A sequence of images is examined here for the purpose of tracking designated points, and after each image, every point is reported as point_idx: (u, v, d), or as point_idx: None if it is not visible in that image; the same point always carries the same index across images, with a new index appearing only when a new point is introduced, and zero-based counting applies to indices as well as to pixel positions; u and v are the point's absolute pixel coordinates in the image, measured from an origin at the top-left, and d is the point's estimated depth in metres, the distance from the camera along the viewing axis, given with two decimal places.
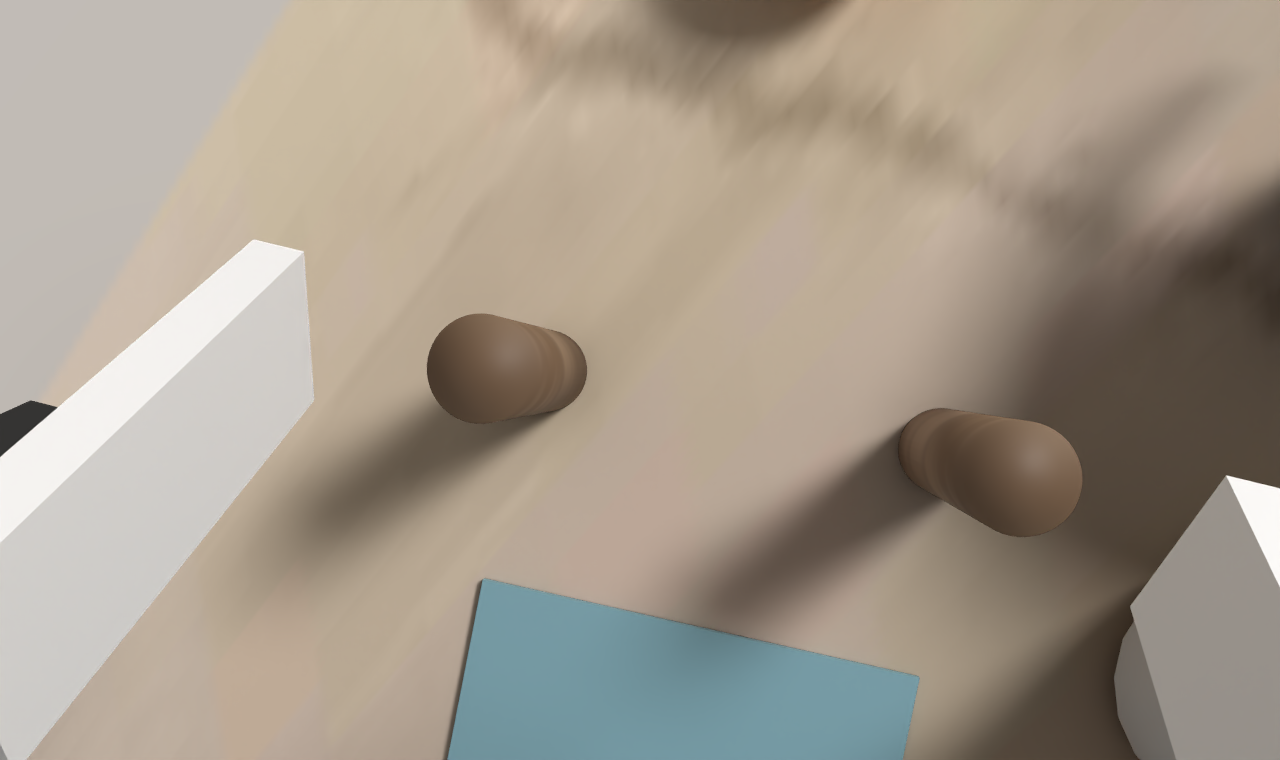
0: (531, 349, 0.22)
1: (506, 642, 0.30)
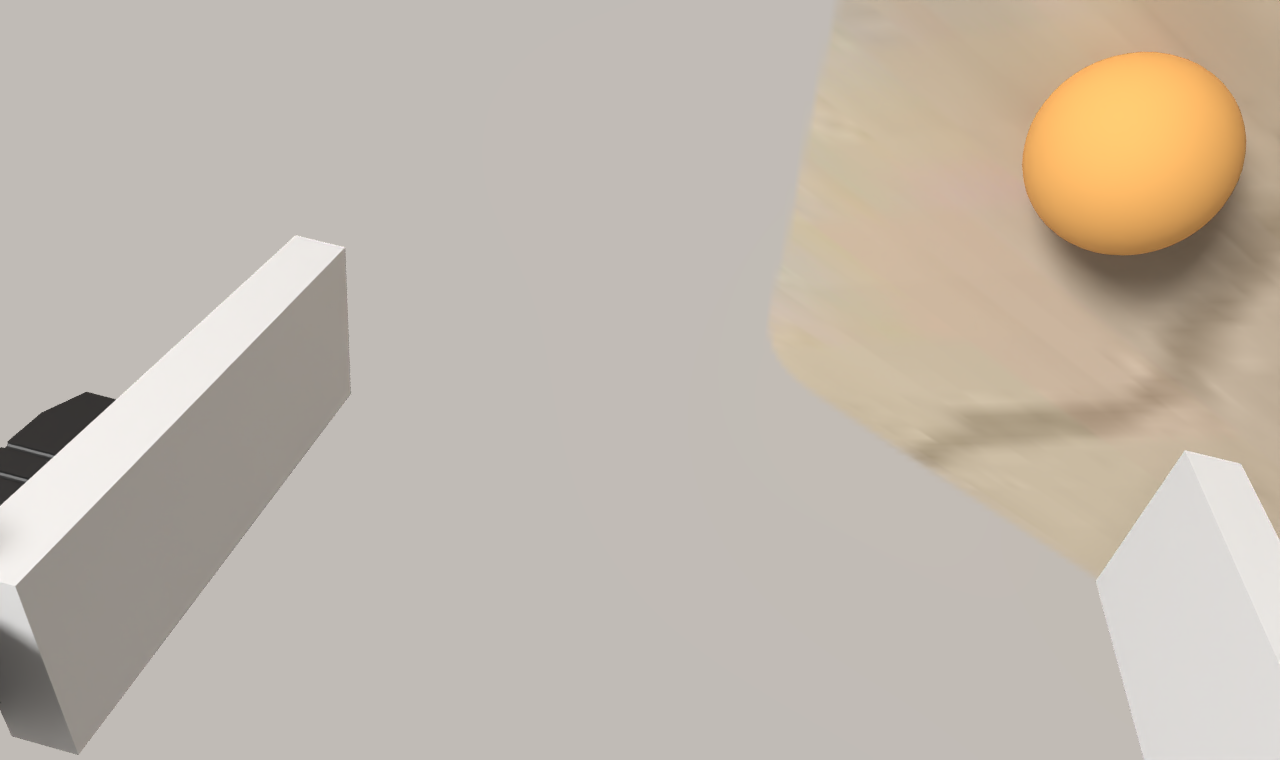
0: None
1: None
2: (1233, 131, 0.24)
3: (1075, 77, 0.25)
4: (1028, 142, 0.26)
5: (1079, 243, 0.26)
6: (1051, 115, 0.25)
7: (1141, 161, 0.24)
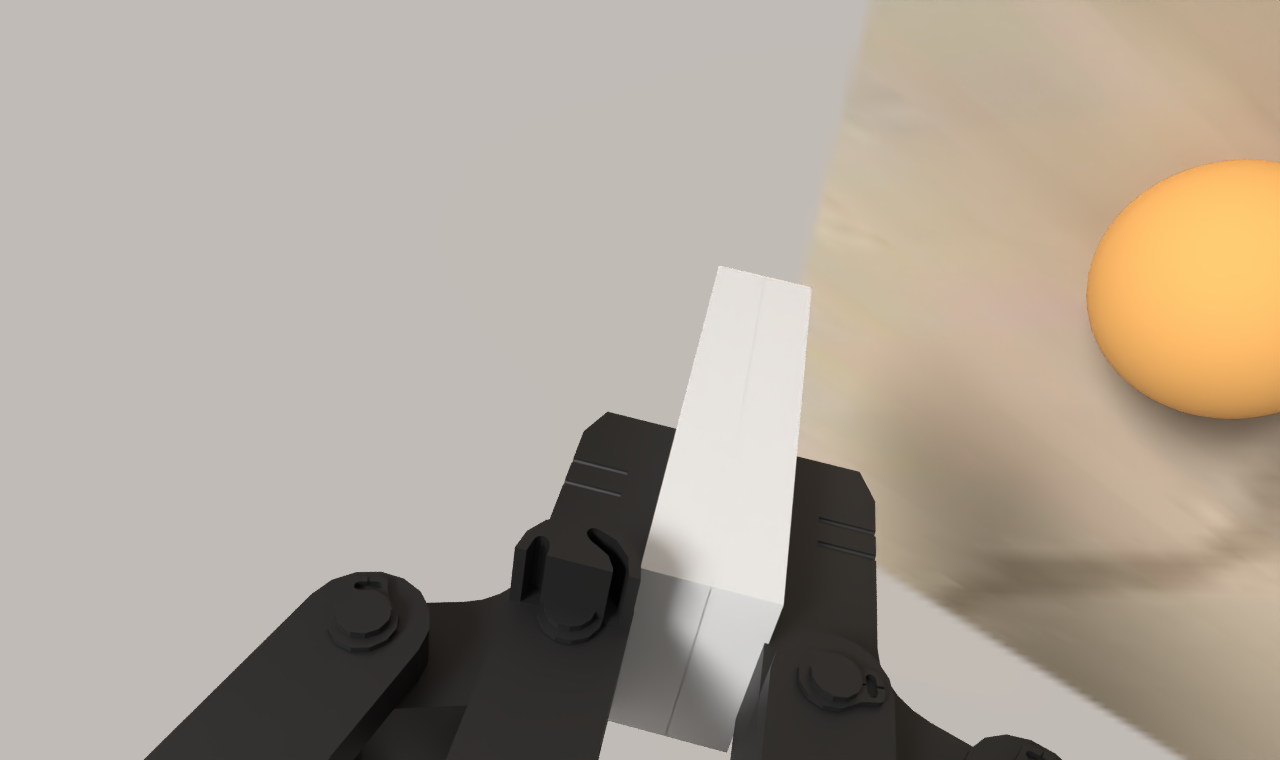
0: None
1: None
2: None
3: (1161, 192, 0.19)
4: (1096, 270, 0.20)
5: (1162, 402, 0.20)
6: (1130, 241, 0.19)
7: (1257, 316, 0.18)
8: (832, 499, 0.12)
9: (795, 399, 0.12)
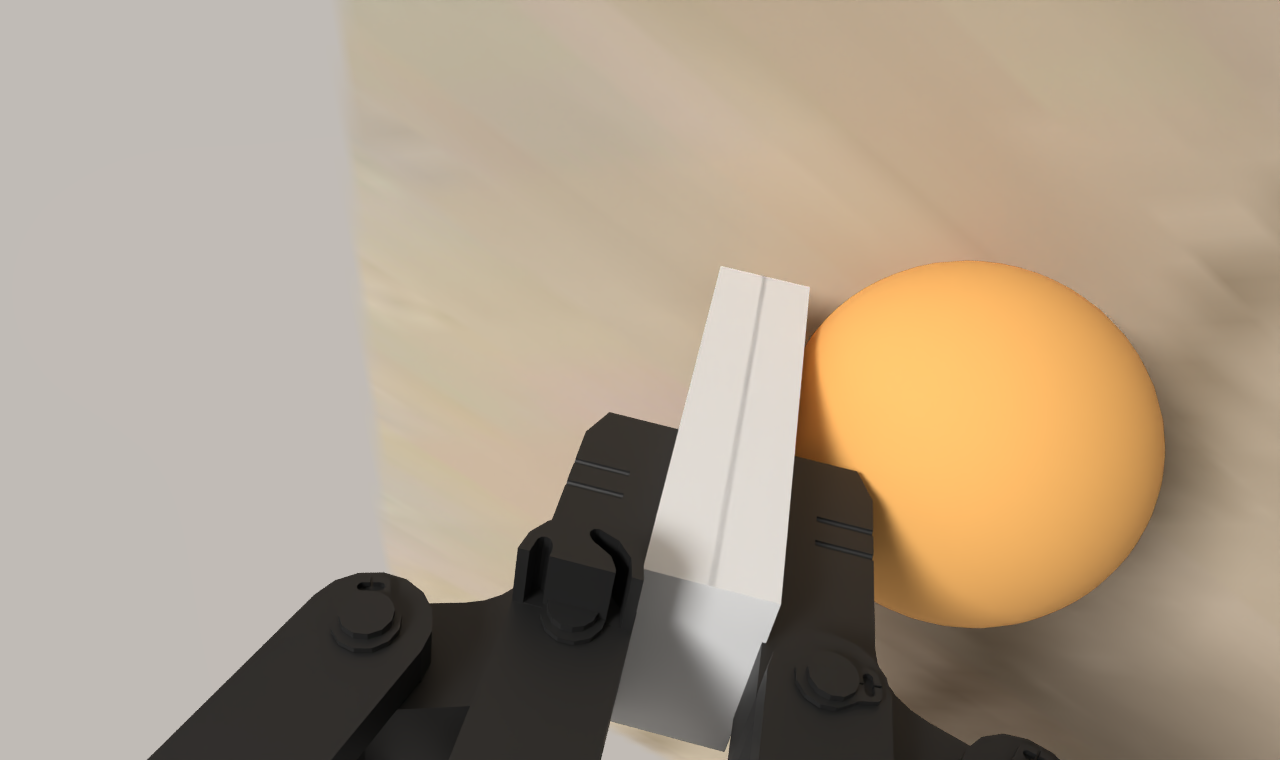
0: None
1: None
2: (1159, 417, 0.13)
3: (859, 348, 0.13)
4: None
5: None
6: (841, 437, 0.13)
7: (1048, 536, 0.12)
8: (830, 498, 0.12)
9: (793, 398, 0.12)
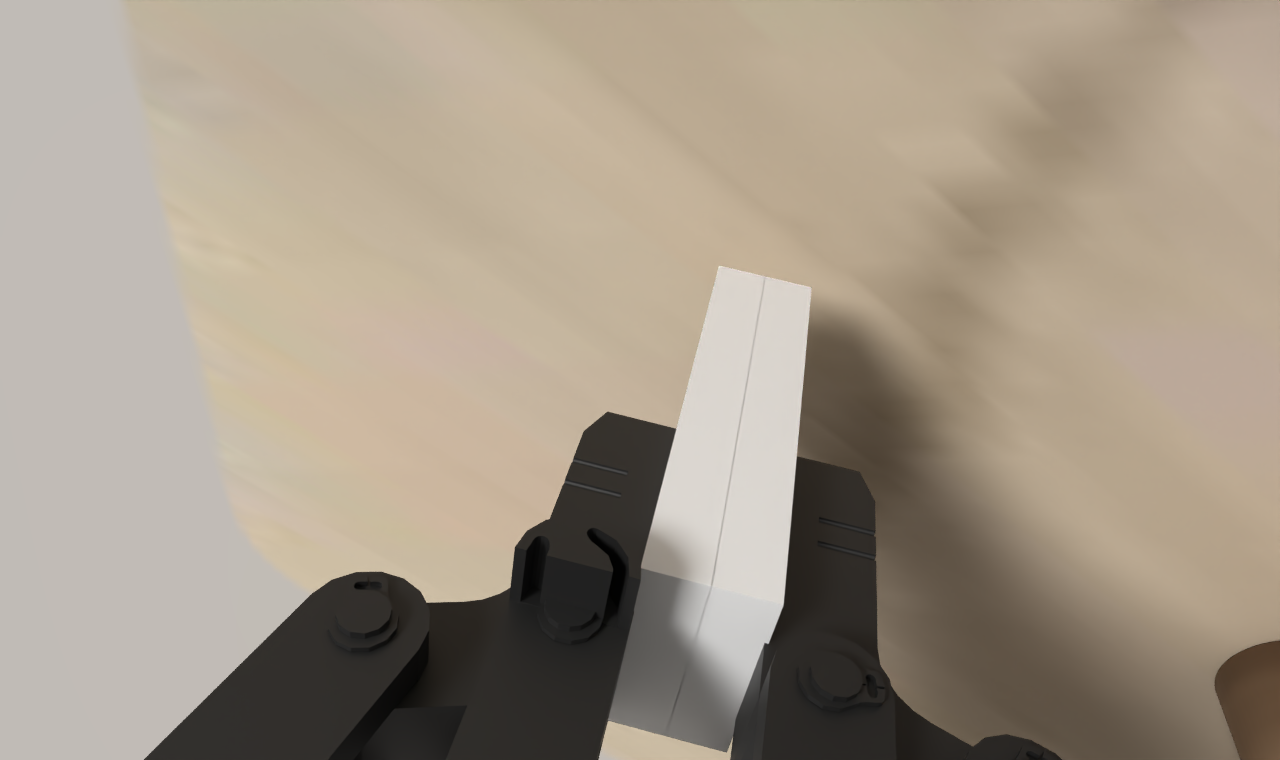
0: None
1: None
2: None
3: None
4: None
5: None
6: None
7: None
8: (832, 499, 0.12)
9: (795, 399, 0.12)
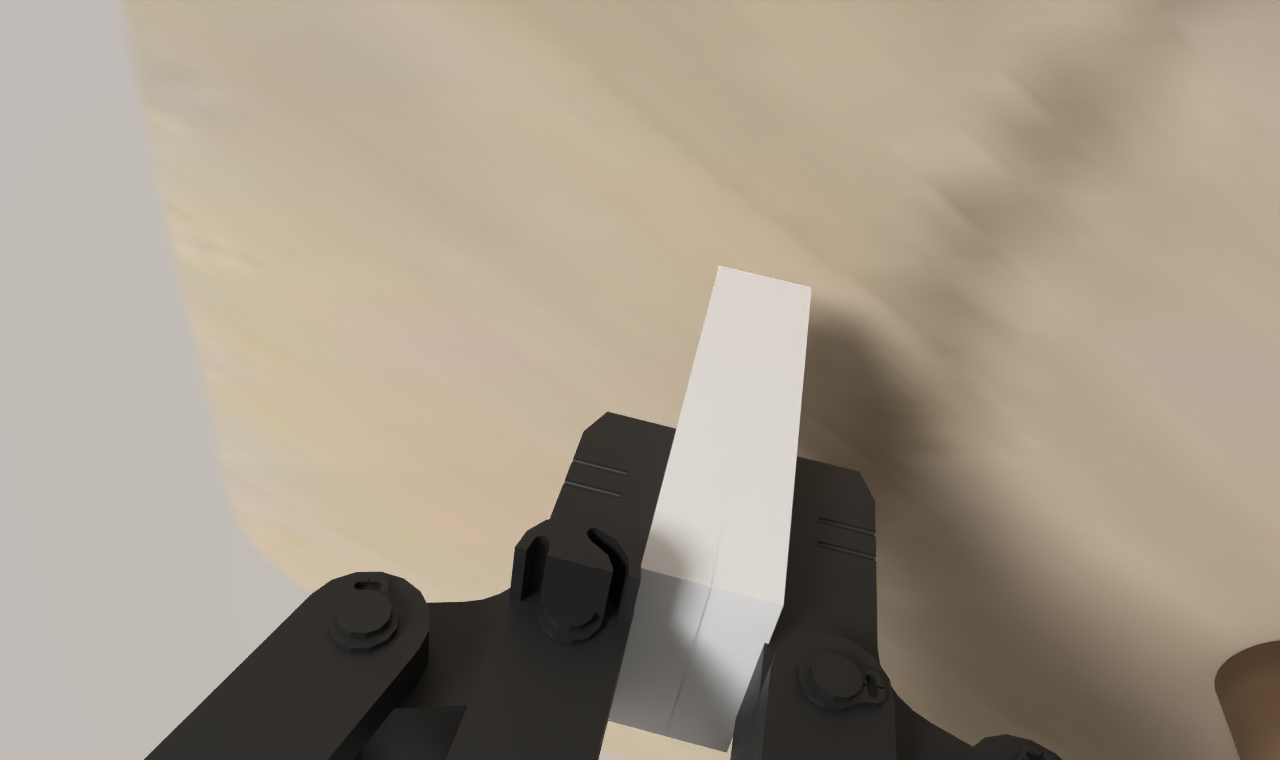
0: None
1: None
2: None
3: None
4: None
5: None
6: None
7: None
8: (832, 499, 0.12)
9: (795, 399, 0.12)
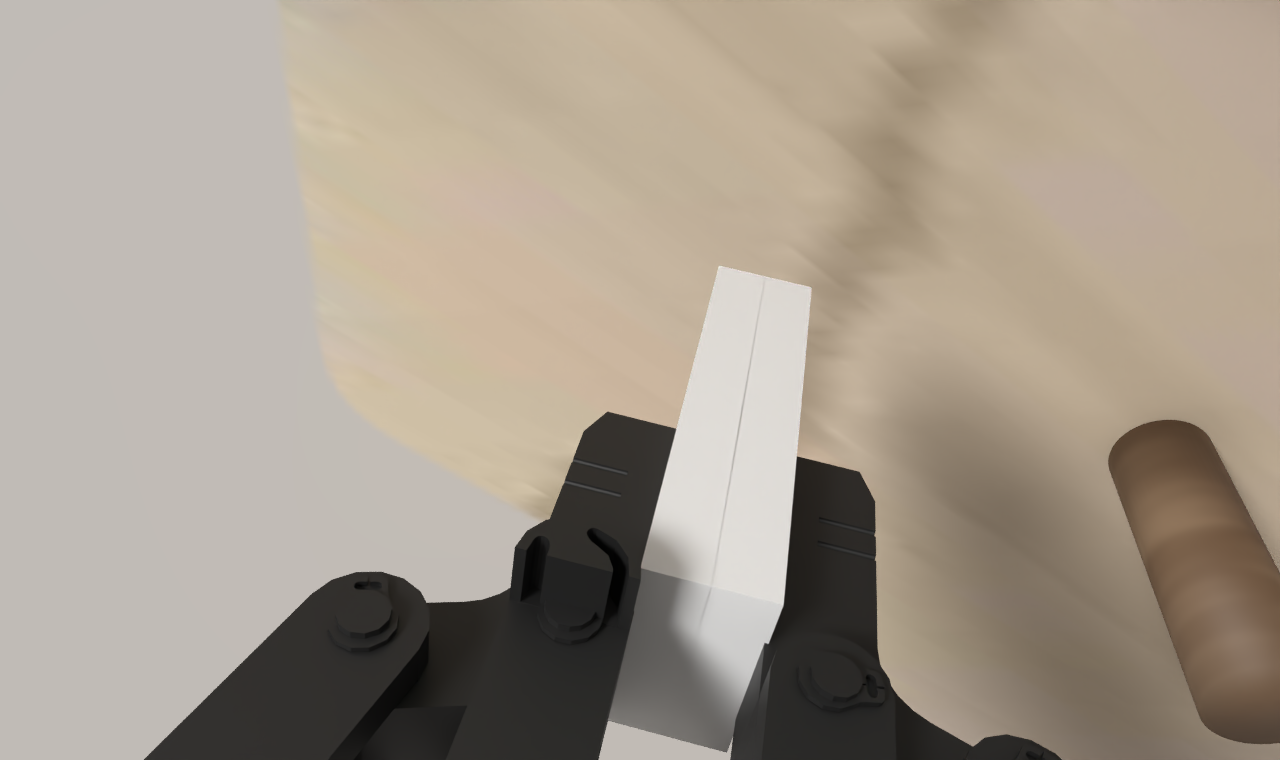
0: (1264, 663, 0.19)
1: None
2: None
3: None
4: None
5: None
6: None
7: None
8: (832, 499, 0.12)
9: (795, 399, 0.12)
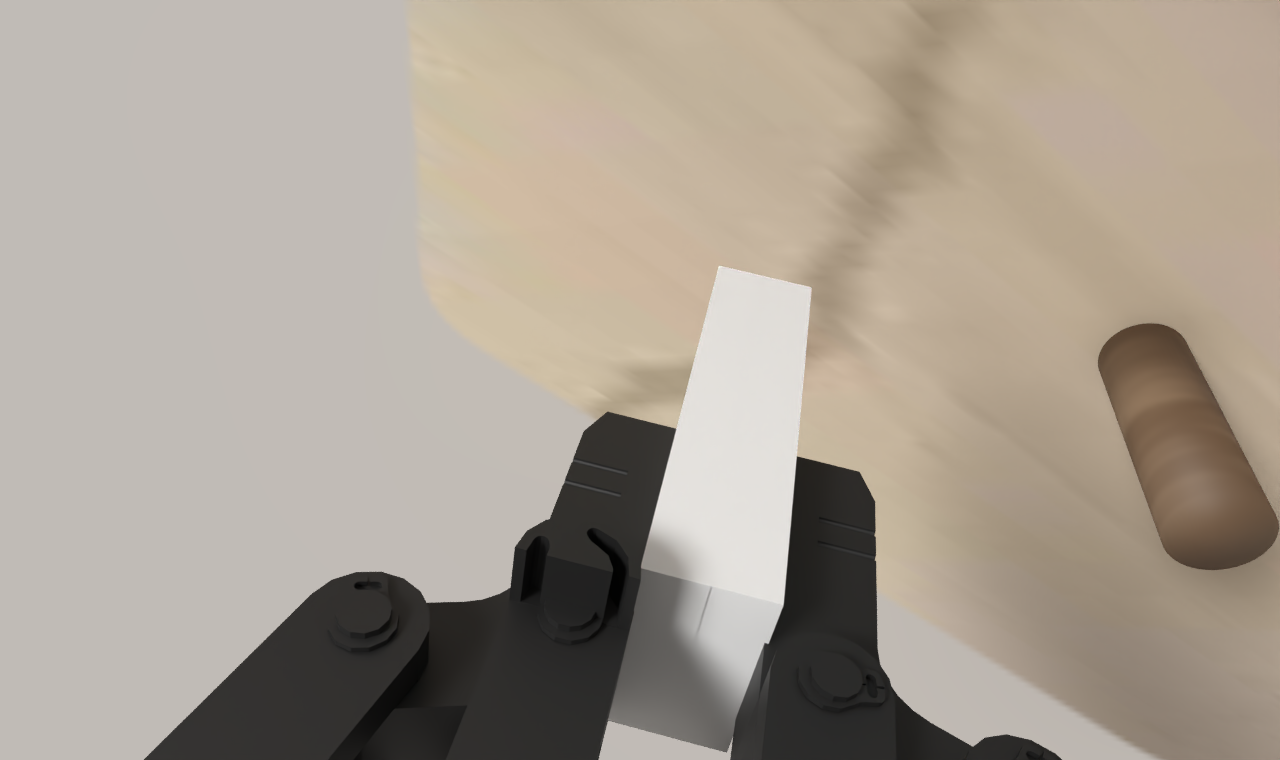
0: (1213, 493, 0.23)
1: None
2: None
3: None
4: None
5: None
6: None
7: None
8: (832, 499, 0.12)
9: (795, 399, 0.12)
